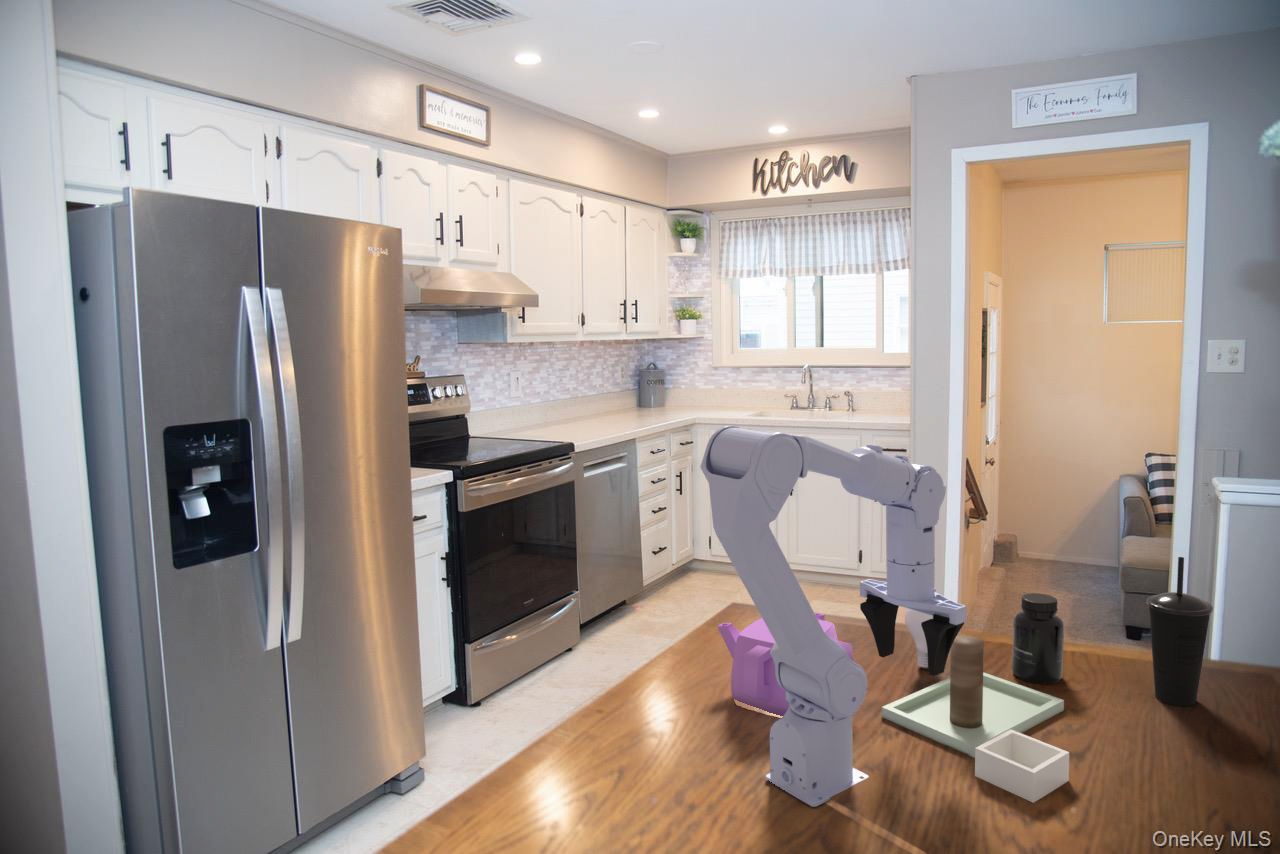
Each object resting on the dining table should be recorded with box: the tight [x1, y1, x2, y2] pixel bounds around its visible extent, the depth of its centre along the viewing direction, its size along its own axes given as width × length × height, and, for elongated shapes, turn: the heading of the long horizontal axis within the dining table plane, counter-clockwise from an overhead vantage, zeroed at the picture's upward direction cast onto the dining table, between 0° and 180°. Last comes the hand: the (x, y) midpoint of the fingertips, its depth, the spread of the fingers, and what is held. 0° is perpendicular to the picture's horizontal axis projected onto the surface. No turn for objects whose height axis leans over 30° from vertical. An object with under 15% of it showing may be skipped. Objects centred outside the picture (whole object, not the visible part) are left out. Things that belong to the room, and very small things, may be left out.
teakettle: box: [717, 612, 854, 716], centre depth 124 cm, size 17×17×12 cm
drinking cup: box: [1146, 556, 1214, 707], centre depth 118 cm, size 8×8×20 cm
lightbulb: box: [904, 608, 933, 670], centre depth 132 cm, size 6×6×11 cm
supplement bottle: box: [1011, 592, 1065, 685], centre depth 128 cm, size 7×7×12 cm
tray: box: [881, 671, 1065, 759], centre depth 116 cm, size 20×14×2 cm
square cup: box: [974, 729, 1070, 804], centre depth 100 cm, size 7×7×4 cm
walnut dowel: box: [949, 634, 985, 729], centre depth 113 cm, size 4×4×11 cm
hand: (910, 663), depth 109 cm, fingers open, 7 cm apart
